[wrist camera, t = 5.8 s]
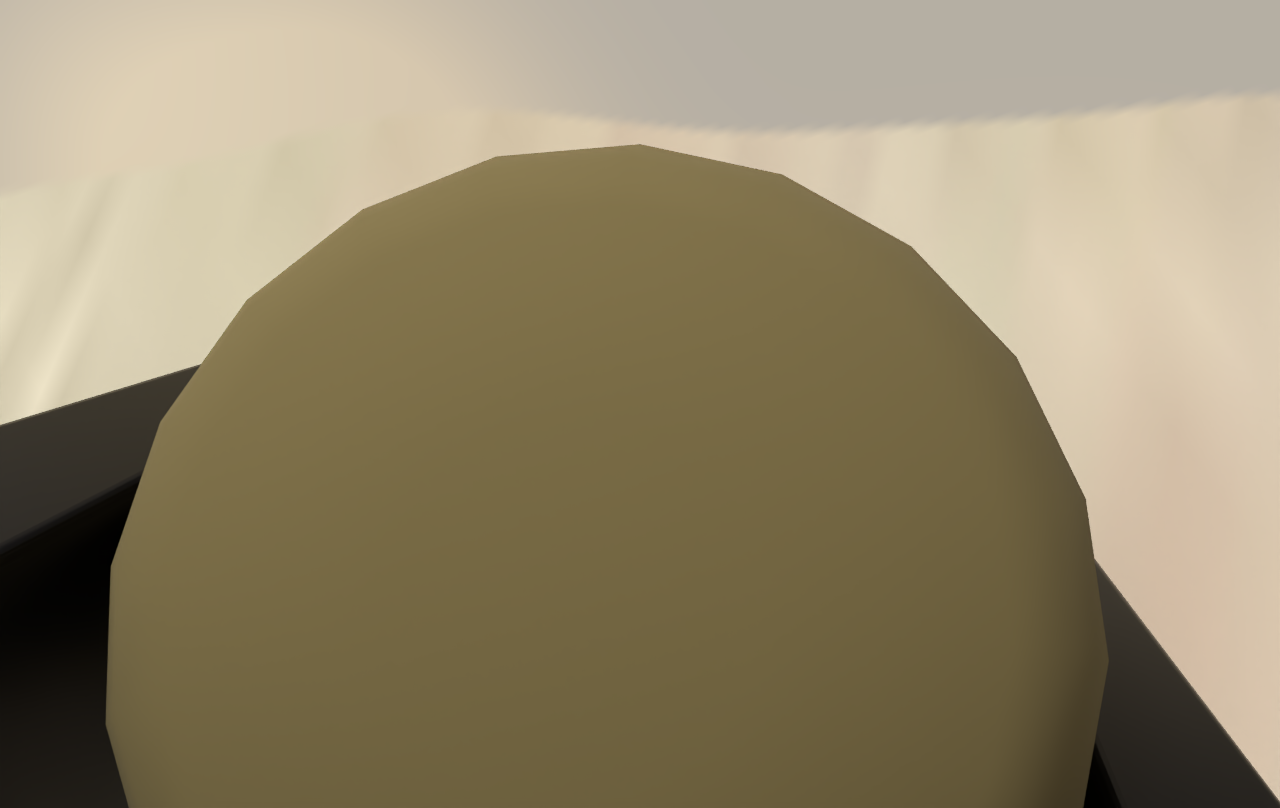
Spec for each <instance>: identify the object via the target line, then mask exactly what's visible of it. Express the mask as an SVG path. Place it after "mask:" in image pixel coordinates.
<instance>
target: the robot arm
mask: <svg viewBox="0 0 1280 808" xmlns="http://www.w3.org/2000/svg"><path fill="white" fill-rule="evenodd" d="M200 365H201V364H200ZM200 365H197V366H193V367H190V368H187V369H184V370H180V371H177V372H174V373H170V374H167V375H164V376H161V377H157V378H154V379H151V380H147V381H144V382H141V383H137V384H134V385H131V386H128V387H124V388H121V389H118V390H114V391H111V392H108V393H105V394H101V395H98V396H95V397H91V398H88V399H85V400H81V401H78V402H75V403H72V404H68V405H65V406H62V407H58V408H55V409H52V410H49V411H45V412H42V413H39V414H35V415H32V416H29V417H25V418H22V419H19V420H16V421H12V422H9V423H6V424H2V425H0V808H129V806H128V803H127V799H126V796H125V792H124V788H123V785H122V781H121V778H120V774H119V770H118V767H117V763H116V760H115V756H114V753H113V749H112V745H111V742H110V738H109V735H108V731H107V727H106V695H107V665H108V635H109V606H110V576H111V565H112V562H113V559H114V556H115V553H116V550H117V547H118V544H119V541H120V538H121V535H122V533H123V530H124V527H125V524H126V521H127V518H128V515H129V512H130V509H131V506H132V503H133V500H134V497H135V494H136V492H137V489H138V486H139V483H140V480H141V477H142V474H143V471H144V468H145V465H146V462H147V459H148V456H149V453H150V451H151V448H152V445H153V442H154V439H155V436H156V433H157V430H158V427H159V424H160V422H161V420H162V419H163V417H164V416H165V415H166V413H167V412H168V410H169V409H170V407H171V406H172V405H173V403H174V402H175V400H176V399H177V398H178V396H179V395H180V393H181V392H182V391H183V389H184V388H185V386H186V385H187V384H188V382H189V381H190V379H191V378H192V377H193V375H194V374H195V372H196V371H197V370H198V368H199V367H200ZM1094 561H1095V568H1096V574H1097V581H1098V588H1099V595H1100V602H1101V609H1102V616H1103V623H1104V630H1105V637H1106V644H1107V651H1108V658H1109V663H1108V669H1107V674H1106V680H1105V686H1104V692H1103V697H1102V703H1101V709H1100V714H1099V720H1098V726H1097V731H1096V737H1095V743H1094V749H1093V754H1092V760H1091V766H1090V771H1089V777H1088V783H1087V788H1086V794H1085V800H1084V806H1083V808H1280V801H1279V800H1278V799H1277V797H1276V796H1275V795H1274V793H1273V792H1272V791H1271V789H1270V788H1269V787H1268V785H1267V784H1266V783H1265V782H1264V780H1263V779H1262V778H1261V776H1260V775H1259V774H1258V772H1257V771H1256V770H1255V768H1254V767H1253V766H1252V765H1251V763H1250V762H1249V761H1248V759H1247V758H1246V757H1245V755H1244V754H1243V753H1242V751H1241V750H1240V749H1239V747H1238V746H1237V745H1236V744H1235V742H1234V741H1233V740H1232V738H1231V737H1230V736H1229V734H1228V733H1227V732H1226V730H1225V729H1224V728H1223V726H1222V725H1221V724H1220V723H1219V721H1218V720H1217V719H1216V717H1215V716H1214V715H1213V713H1212V712H1211V711H1210V709H1209V708H1208V707H1207V706H1206V704H1205V703H1204V702H1203V700H1202V699H1201V698H1200V696H1199V695H1198V694H1197V692H1196V691H1195V690H1194V688H1193V687H1192V686H1191V685H1190V683H1189V682H1188V681H1187V679H1186V678H1185V677H1184V675H1183V674H1182V673H1181V671H1180V670H1179V669H1178V667H1177V666H1176V665H1175V664H1174V662H1173V661H1172V660H1171V658H1170V657H1169V656H1168V654H1167V653H1166V652H1165V650H1164V649H1163V648H1162V646H1161V645H1160V644H1159V643H1158V641H1157V640H1156V639H1155V637H1154V636H1153V635H1152V633H1151V632H1150V631H1149V629H1148V628H1147V627H1146V626H1145V624H1144V623H1143V622H1142V620H1141V619H1140V618H1139V616H1138V615H1137V614H1136V612H1135V611H1134V610H1133V608H1132V607H1131V606H1130V605H1129V603H1128V602H1127V601H1126V599H1125V598H1124V597H1123V595H1122V594H1121V593H1120V591H1119V590H1118V589H1117V587H1116V586H1115V585H1114V584H1113V582H1112V581H1111V580H1110V578H1109V577H1108V576H1107V574H1106V573H1105V572H1104V570H1103V569H1102V568H1101V566H1100V565H1099V564H1098V563H1097V561H1096V560H1095V559H1094Z"/></svg>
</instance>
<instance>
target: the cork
mask: <svg viewBox="0 0 1280 808" xmlns="http://www.w3.org/2000/svg"><path fill="white" fill-rule="evenodd" d="M1108 663H1109V658H1108V651H1107V644H1106V637H1105V630H1104V623H1103V616H1102V609H1101V602H1100V595H1099V588H1098V581H1097V574H1096V568H1095V561H1094V554H1093V547H1092V540H1091V533H1090V526H1089V519H1088V512H1087V505H1086V499H1085V497H1084V495H1083V493H1082V490H1081V488H1080V486H1079V484H1078V482H1077V480H1076V478H1075V476H1074V474H1073V472H1072V470H1071V468H1070V466H1069V464H1068V462H1067V460H1066V458H1065V456H1064V454H1063V452H1062V449H1061V447H1060V445H1059V443H1058V441H1057V439H1056V437H1055V435H1054V433H1053V431H1052V429H1051V427H1050V425H1049V423H1048V421H1047V419H1046V417H1045V415H1044V413H1043V411H1042V408H1041V406H1040V404H1039V402H1038V400H1037V398H1036V396H1035V394H1034V392H1033V390H1032V388H1031V386H1030V384H1029V382H1028V380H1027V378H1026V376H1025V374H1024V372H1023V370H1022V368H1021V365H1020V363H1019V361H1018V359H1017V357H1016V356H1015V355H1014V354H1013V353H1012V352H1011V351H1010V350H1009V349H1008V348H1007V347H1006V346H1005V345H1004V343H1003V342H1002V341H1001V340H1000V339H999V338H998V337H997V336H996V335H995V334H994V333H993V332H992V331H991V330H990V329H989V328H988V327H987V326H986V325H985V323H984V322H983V321H982V320H981V319H980V318H979V317H978V316H977V315H976V314H975V313H974V312H973V311H972V310H971V309H970V308H969V307H968V306H967V305H966V304H965V302H964V301H963V300H962V299H961V298H960V297H959V296H958V295H957V294H956V293H955V292H954V291H953V290H952V289H951V288H950V287H949V286H948V285H947V284H946V282H945V281H944V280H943V279H942V278H941V277H940V276H939V275H938V274H937V273H936V272H935V271H934V270H933V269H932V268H931V267H930V266H929V265H928V264H927V263H926V261H925V260H924V259H923V258H922V257H921V256H920V255H919V254H918V253H917V252H916V251H915V250H914V249H913V248H912V247H911V246H909V245H908V244H906V243H904V242H902V241H900V240H899V239H897V238H895V237H893V236H891V235H890V234H888V233H886V232H884V231H882V230H881V229H879V228H877V227H875V226H874V225H872V224H870V223H868V222H866V221H865V220H863V219H861V218H859V217H857V216H856V215H854V214H852V213H850V212H848V211H847V210H845V209H843V208H841V207H839V206H838V205H836V204H834V203H832V202H830V201H829V200H827V199H825V198H823V197H821V196H820V195H818V194H816V193H814V192H812V191H811V190H809V189H807V188H805V187H803V186H802V185H800V184H798V183H796V182H794V181H793V180H791V179H789V178H787V177H786V176H784V175H782V174H777V173H772V172H768V171H763V170H758V169H754V168H749V167H744V166H739V165H735V164H730V163H725V162H721V161H716V160H711V159H706V158H702V157H697V156H692V155H688V154H683V153H678V152H674V151H669V150H664V149H659V148H655V147H650V146H645V145H641V144H639V145H627V146H615V147H604V148H592V149H580V150H569V151H557V152H545V153H534V154H522V155H510V156H499V157H494V158H492V159H489V160H487V161H484V162H482V163H479V164H477V165H474V166H472V167H469V168H467V169H464V170H462V171H459V172H456V173H454V174H451V175H449V176H446V177H444V178H441V179H439V180H436V181H434V182H431V183H429V184H426V185H424V186H421V187H419V188H416V189H413V190H411V191H408V192H406V193H403V194H401V195H398V196H396V197H393V198H391V199H388V200H386V201H383V202H381V203H378V204H376V205H373V206H370V207H368V208H365V209H363V210H361V211H360V212H359V213H357V214H356V215H355V216H354V217H352V218H351V219H350V220H349V221H347V222H346V223H345V224H343V225H342V226H341V227H340V228H338V229H337V230H336V231H334V232H333V233H332V234H331V235H329V236H328V237H327V238H326V239H324V240H323V241H322V242H320V243H319V244H318V245H317V246H315V247H314V248H313V249H312V250H310V251H309V252H308V253H306V254H305V255H304V256H303V257H301V258H300V259H299V260H297V261H296V262H295V263H294V264H292V265H291V266H290V267H289V268H287V269H286V270H285V271H283V272H282V273H281V274H280V275H278V276H277V277H276V278H275V279H273V280H272V281H271V282H269V283H268V284H267V285H266V286H264V287H263V288H262V289H260V290H259V291H258V292H257V293H255V294H254V295H253V296H252V297H250V298H249V299H248V300H247V301H246V302H245V304H244V305H243V306H242V308H241V309H240V311H239V312H238V313H237V315H236V316H235V318H234V319H233V320H232V322H231V323H230V325H229V326H228V327H227V329H226V330H225V332H224V333H223V334H222V336H221V337H220V339H219V340H218V341H217V343H216V344H215V346H214V347H213V349H212V350H211V351H210V353H209V354H208V356H207V357H206V358H205V360H204V361H203V363H202V364H201V365H200V367H199V368H198V370H197V371H196V372H195V374H194V375H193V377H192V378H191V379H190V381H189V382H188V384H187V385H186V386H185V388H184V389H183V391H182V392H181V393H180V395H179V396H178V398H177V399H176V400H175V402H174V403H173V405H172V406H171V407H170V409H169V410H168V412H167V413H166V415H165V416H164V417H163V419H162V420H161V422H160V424H159V427H158V430H157V433H156V436H155V439H154V442H153V445H152V448H151V451H150V453H149V456H148V459H147V462H146V465H145V468H144V471H143V474H142V477H141V480H140V483H139V486H138V489H137V492H136V494H135V497H134V500H133V503H132V506H131V509H130V512H129V515H128V518H127V521H126V524H125V527H124V530H123V533H122V535H121V538H120V541H119V544H118V547H117V550H116V553H115V556H114V559H113V562H112V565H111V576H110V606H109V635H108V665H107V695H106V727H107V731H108V735H109V738H110V742H111V745H112V749H113V753H114V756H115V760H116V763H117V767H118V770H119V774H120V778H121V781H122V785H123V788H124V792H125V796H126V799H127V803H128V806H129V808H1083V806H1084V800H1085V794H1086V788H1087V783H1088V777H1089V771H1090V766H1091V760H1092V754H1093V749H1094V743H1095V737H1096V731H1097V726H1098V720H1099V714H1100V709H1101V703H1102V697H1103V692H1104V686H1105V680H1106V674H1107V669H1108Z"/></svg>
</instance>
